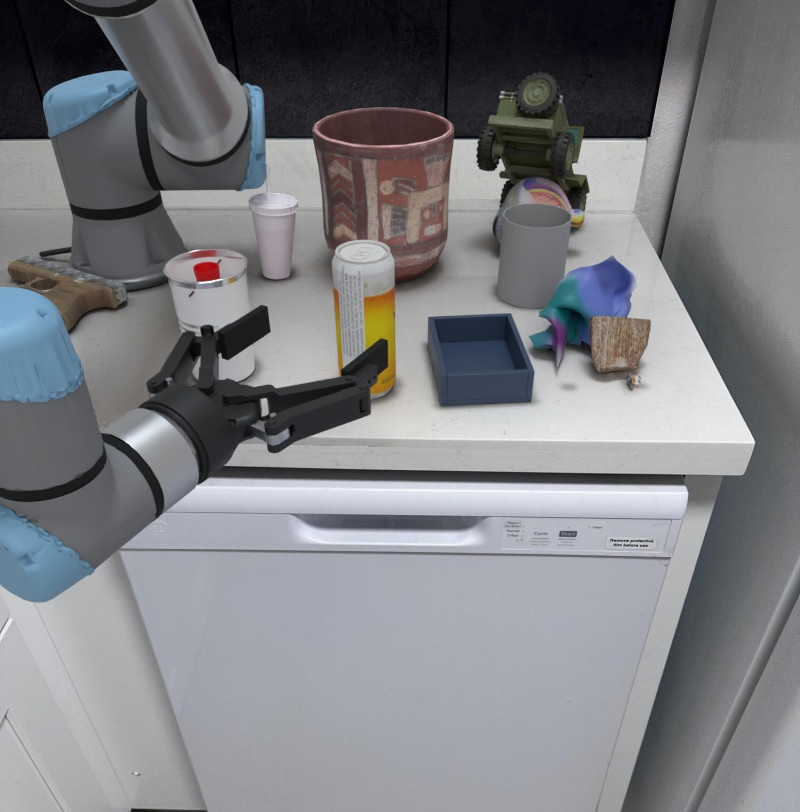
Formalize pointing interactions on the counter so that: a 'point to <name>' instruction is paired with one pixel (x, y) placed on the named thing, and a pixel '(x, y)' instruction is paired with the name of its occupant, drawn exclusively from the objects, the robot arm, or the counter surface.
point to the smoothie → (274, 229)
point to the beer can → (365, 304)
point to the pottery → (386, 182)
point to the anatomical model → (536, 200)
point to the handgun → (67, 287)
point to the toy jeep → (534, 139)
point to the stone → (618, 342)
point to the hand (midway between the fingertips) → (323, 334)
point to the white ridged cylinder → (212, 299)
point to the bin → (479, 360)
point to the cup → (532, 253)
